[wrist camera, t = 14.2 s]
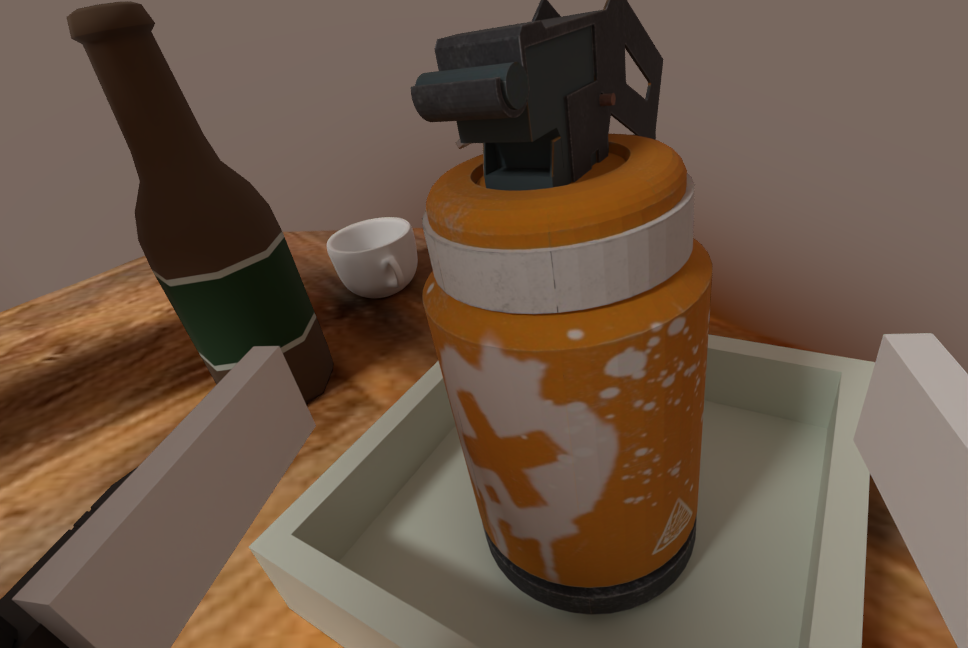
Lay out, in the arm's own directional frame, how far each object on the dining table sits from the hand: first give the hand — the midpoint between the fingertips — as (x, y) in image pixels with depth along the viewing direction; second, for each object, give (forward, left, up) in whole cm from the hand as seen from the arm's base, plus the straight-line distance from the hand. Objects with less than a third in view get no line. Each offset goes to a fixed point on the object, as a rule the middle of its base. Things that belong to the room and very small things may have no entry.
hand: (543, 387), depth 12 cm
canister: (-2, +6, -13) cm, 14 cm away
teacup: (-28, +21, -14) cm, 38 cm away
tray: (-2, +6, -14) cm, 15 cm away
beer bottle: (-26, +7, -14) cm, 31 cm away
